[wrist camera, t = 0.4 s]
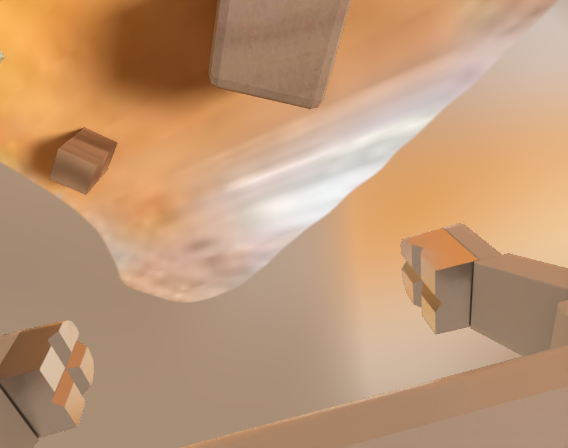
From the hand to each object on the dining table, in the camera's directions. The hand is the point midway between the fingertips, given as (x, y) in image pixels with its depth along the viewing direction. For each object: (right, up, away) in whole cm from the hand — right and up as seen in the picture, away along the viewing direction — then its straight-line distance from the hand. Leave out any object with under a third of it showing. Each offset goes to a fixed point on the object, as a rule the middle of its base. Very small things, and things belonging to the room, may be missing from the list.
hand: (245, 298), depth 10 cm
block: (0, +27, +39) cm, 47 cm away
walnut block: (-25, +12, +46) cm, 54 cm away
